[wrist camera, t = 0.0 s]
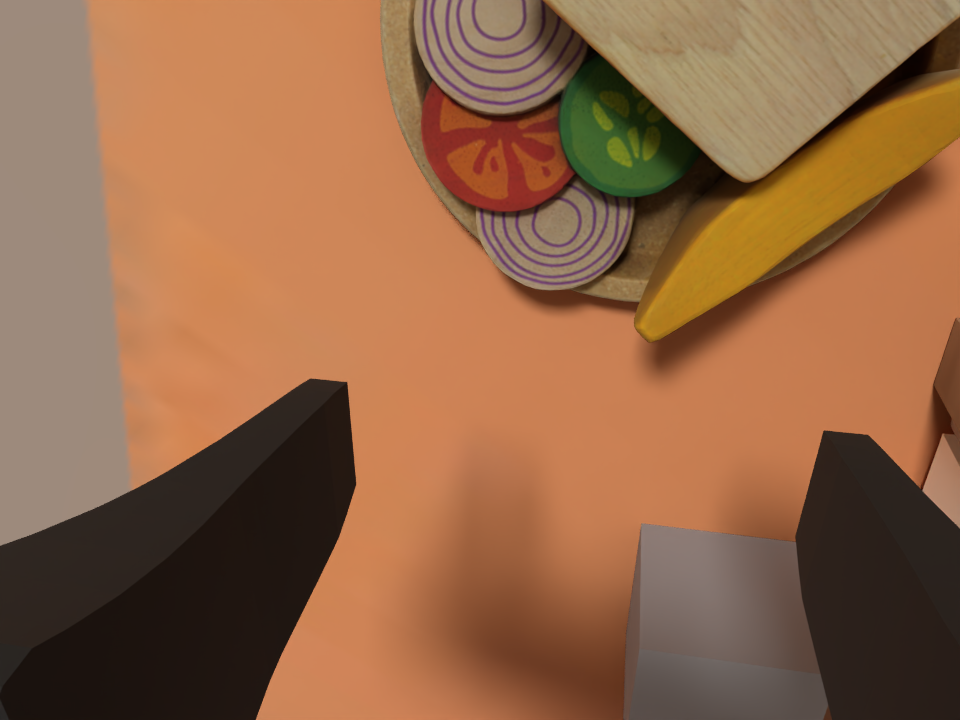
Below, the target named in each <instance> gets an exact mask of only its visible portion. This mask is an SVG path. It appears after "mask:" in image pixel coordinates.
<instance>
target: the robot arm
mask: <svg viewBox="0 0 960 720" xmlns="http://www.w3.org/2000/svg"><path fill="white" fill-rule="evenodd" d="M355 486H356V476H355V465H354V454H353V442H352V431H351V420H350V408H349V397H348V386H347V382H339V381H330V380H320V379H309V380H307V381H306V382H304V383H302V384H301V385H299V386H298V387H296V388H295V389H293V390H292V391H290V392H289V393H287V394H286V395H284V396H283V397H281V398H280V399H279V400H277V401H276V402H274V403H273V404H271V405H270V406H268V407H267V408H266V409H264V410H263V411H261V412H260V413H258V414H257V415H255V416H254V417H253V418H251V419H250V420H248V421H247V422H245V423H244V424H242V425H241V426H239V427H238V428H236V429H235V430H233V431H232V432H230V433H229V434H227V435H226V436H224V437H223V438H221V439H220V440H218V441H217V442H215V443H213V444H212V445H210V446H209V447H207V448H205V449H204V450H202V451H200V452H199V453H197V454H195V455H194V456H192V457H190V458H189V459H187V460H186V461H184V462H182V463H181V464H179V465H177V466H176V467H174V468H172V469H171V470H169V471H168V472H166V473H164V474H162V475H160V476H159V477H157V478H155V479H153V480H151V481H149V482H147V483H146V484H144V485H142V486H140V487H138V488H136V489H134V490H132V491H130V492H128V493H126V494H124V495H122V496H120V497H118V498H116V499H114V500H112V501H110V502H108V503H106V504H104V505H101V506H99V507H97V508H95V509H93V510H90V511H88V512H85V513H83V514H81V515H78V516H76V517H73V518H71V519H68V520H66V521H64V522H61V523H59V524H57V525H54V526H52V527H49V528H47V529H45V530H42V531H40V532H37V533H35V534H32V535H29V536H27V537H24V538H21V539H18V540H16V541H13V542H10V543H7V544H4V545H2V546H0V720H256V717H257V715H258V712H259V709H260V706H261V704H262V701H263V698H264V696H265V693H266V690H267V687H268V685H269V682H270V679H271V677H272V675H273V673H274V670H275V668H276V666H277V663H278V661H279V659H280V657H281V654H282V652H283V650H284V648H285V646H286V644H287V642H288V640H289V638H290V636H291V634H292V632H293V630H294V628H295V626H296V624H297V622H298V620H299V618H300V616H301V614H302V612H303V610H304V608H305V606H306V604H307V602H308V600H309V598H310V596H311V594H312V592H313V590H314V588H315V586H316V584H317V582H318V580H319V578H320V576H321V573H322V571H323V569H324V567H325V565H326V563H327V561H328V559H329V557H330V555H331V553H332V551H333V549H334V547H335V544H336V542H337V540H338V538H339V535H340V532H341V529H342V526H343V524H344V521H345V518H346V515H347V512H348V509H349V505H350V502H351V499H352V496H353V493H354V490H355ZM796 547H797V558H798V569H799V578H800V586H801V595H802V601H803V605H804V609H805V613H806V618H807V622H808V626H809V630H810V634H811V638H812V642H813V646H814V650H815V654H816V658H817V662H818V666H819V670H820V674H821V678H822V682H823V686H824V690H825V694H826V698H827V702H828V706H829V710H830V714H831V718H832V720H960V528H959V527H958V526H957V525H956V524H955V523H954V522H953V521H952V520H951V519H950V518H949V517H948V516H947V515H946V514H945V513H944V512H943V511H942V510H941V509H940V508H939V507H938V506H937V505H936V504H935V503H934V502H933V501H932V500H931V499H930V498H929V497H928V496H927V495H926V494H925V493H924V492H923V491H922V490H921V489H920V488H919V487H918V486H917V485H916V484H915V483H914V482H913V481H912V480H911V479H910V478H909V476H908V475H907V474H906V473H905V472H904V471H903V470H902V469H901V468H900V467H899V466H898V465H897V464H896V463H895V462H894V461H893V460H892V459H891V458H890V457H889V456H888V455H887V453H886V452H885V451H884V450H883V449H882V448H881V447H880V446H879V445H878V444H877V443H876V442H875V441H874V440H873V439H872V438H871V437H870V436H868V435H863V434H853V433H843V432H833V431H824V432H823V435H822V439H821V443H820V447H819V450H818V454H817V458H816V462H815V465H814V469H813V473H812V477H811V480H810V484H809V488H808V492H807V495H806V499H805V503H804V507H803V510H802V514H801V518H800V522H799V525H798V529H797V533H796Z"/></svg>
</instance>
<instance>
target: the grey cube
mask: <svg viewBox="0 0 960 720" xmlns="http://www.w3.org/2000/svg"><path fill="white" fill-rule="evenodd" d="M827 707H828V702H827V698H826V694H825V690H824V686H823V682H822V678H821V674H820V670H819V666H818V662H817V658H816V654H815V650H814V646H813V642H812V638H811V634H810V630H809V626H808V622H807V618H806V613H805V609H804V605H803V601H802V595H801V586H800V578H799V569H798V558H797V547H796V542H792V541H784V540H775V539H767V538H759V537H750V536H742V535H734V534H725V533H717V532H709V531H700V530H692V529H684V528H675V527H667V526H659V525H651V524H642V523H641V530H640V537H639V544H638V551H637V558H636V566H635V573H634V580H633V587H632V594H631V601H630V609H629V616H628V623H627V630H626V650H625V681H624V712H623V720H823V719H824V716H825V713H826V710H827Z"/></svg>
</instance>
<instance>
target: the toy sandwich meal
mask: <svg viewBox="0 0 960 720" xmlns="http://www.w3.org/2000/svg"><path fill="white" fill-rule="evenodd" d="M380 22H381V42H382V55H383V63H384V68H385V74H386V80H387V84H388V88H389V93H390V97H391V101H392V105H393V108H394V112H395V115H396V117H397V120H398V123H399V126H400V128H401V131H402V134H403V136H404V138H405V140H406V143H407V145H408V147H409V149H410V151H411V153H412V155H413V157H414V159H415V161H416V163H417V165H418V167H419V168H420V170H421V172H422V173H423V175H424V177H425V178H426V180H427V181H428V183H429V184H430V186H431V187H432V189H433V190H434V191H435V193H436V194H437V196H438V197H439V198H440V200H441V201H442V202H443V203H444V205H445V206H446V207H447V208H448V209H449V211H450V212H451V213H452V214H453V215H454V216H455V217H456V218H457V219H458V220H459V221H460V222H461V224H462V225H463V226H464V227H465V228H466V229H467V230H468V231H469V232H470V233H472V234H473V235H474V236H475V237H476V238H477V239H479V240H480V241H481V243H482V245H483V247H484V249H485V251H486V253H487V254H488V256H489V257H490V258H491V260H492V261H493V263H494V264H495V265H496V266H497V267H498V268H499V269H500V270H501V271H502V272H503V273H505V274H506V275H507V276H509V277H510V278H512V279H514V280H516V281H517V282H519V283H521V284H523V285H526V286H528V287H531V288H534V289H538V290H548V291H549V290H565V289H570V290H573V291H576V292H579V293H582V294H587V295H591V296H596V297H601V298H607V299H612V300H618V301H627V302H639V305H638V308H637V311H636V315H635V318H634V327H635V329H636V330H637V332H638V333H639V334H640V335H641V336H642V337H643V338H644V339H645V340H647V341H648V342H649V343H651V342H654V341H657V340H660V339H662V338H664V337H665V336H667V335H669V334H670V333H672V332H674V331H675V330H677V329H679V328H680V327H682V326H683V325H685V324H686V323H688V322H690V321H691V320H693V319H695V318H696V317H698V316H700V315H701V314H703V313H705V312H706V311H708V310H710V309H712V308H713V307H715V306H717V305H718V304H720V303H722V302H724V301H725V300H727V299H729V298H730V297H732V296H734V295H735V294H737V293H739V292H740V291H742V290H743V289H745V288H746V287H749V286H751V285H754V284H756V283H759V282H762V281H764V280H767V279H769V278H771V277H774V276H776V275H778V274H781V273H783V272H785V271H787V270H789V269H791V268H793V267H795V266H796V265H798V264H800V263H802V262H803V261H805V260H807V259H809V258H811V257H812V256H814V255H816V254H817V253H819V252H820V251H822V250H823V249H825V248H826V247H828V246H829V245H831V244H832V243H833V242H835V241H836V240H837V239H839V238H840V237H842V236H843V235H844V234H845V233H846V232H848V231H849V230H850V229H851V228H852V227H854V226H855V225H856V224H857V223H859V222H860V221H861V220H862V219H863V218H864V217H865V216H866V215H867V214H868V213H869V212H870V211H871V210H873V209H874V208H875V207H876V206H877V205H878V204H879V203H880V201H881V200H882V199H883V198H884V197H885V196H886V195H887V193H889V192H890V190H891V189H892V188H893V187H894V186H895V184H896V183H898V182H899V181H901V180H902V179H904V178H905V177H907V176H908V175H910V174H911V173H912V172H914V171H915V170H917V169H918V168H920V167H921V166H923V165H924V164H926V163H927V162H928V161H929V160H931V159H932V158H933V157H935V156H936V155H937V154H938V153H940V152H941V151H942V150H944V149H945V148H946V147H947V146H949V145H950V144H951V143H952V142H954V141H955V140H956V139H958V138H959V137H960V0H381V13H380Z"/></svg>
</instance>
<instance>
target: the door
mask: <svg viewBox="0 0 960 720" xmlns="http://www.w3.org/2000/svg"><path fill="white" fill-rule="evenodd" d="M951 428H952V430H953V432H954V434H955V435H954V434H944V433H943V434H942V437H941V440H940V443H939V446H938V448H937V451H936V454H935V457H934V460H933V462H932V465H931V468H930V471H929V474H928V476H927V479H926V482H925V485H924V488H923V490H922V491H923V492H924V493H925V494H926V495H927V496H928V497H929V498H930V499H931V500H932V501H933V502H934V503H935V504H936V505H937V506H938V507H939V508H940V509H941V510H942V511H943V512H944V513H945V514H946V515H947V516H948V517H949V518H950V519H951V520H952V521H953V522H954V523H955V524H956V525H957V526H958V527H959V528H960V433H959V431H958V429H957V427H956V426H955V424H954V422H953V420H951Z"/></svg>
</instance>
